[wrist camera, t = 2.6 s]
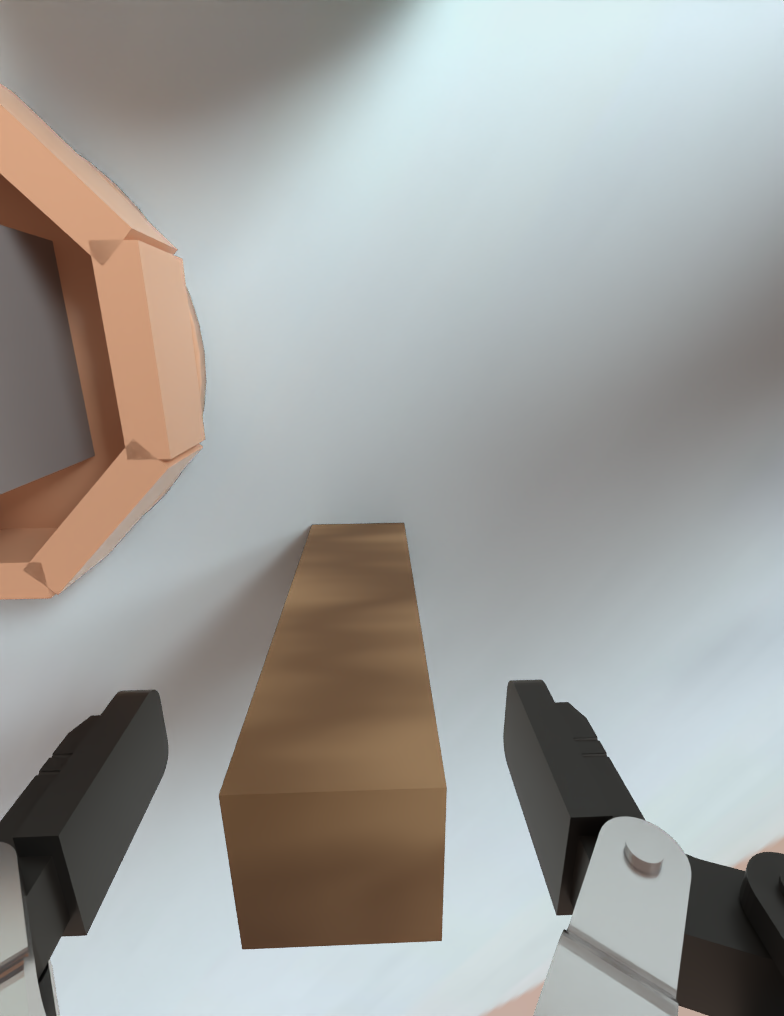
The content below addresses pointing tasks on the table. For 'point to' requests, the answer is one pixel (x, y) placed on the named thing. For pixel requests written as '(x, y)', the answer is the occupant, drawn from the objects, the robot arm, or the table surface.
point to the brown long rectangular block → (340, 759)
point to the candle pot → (84, 361)
